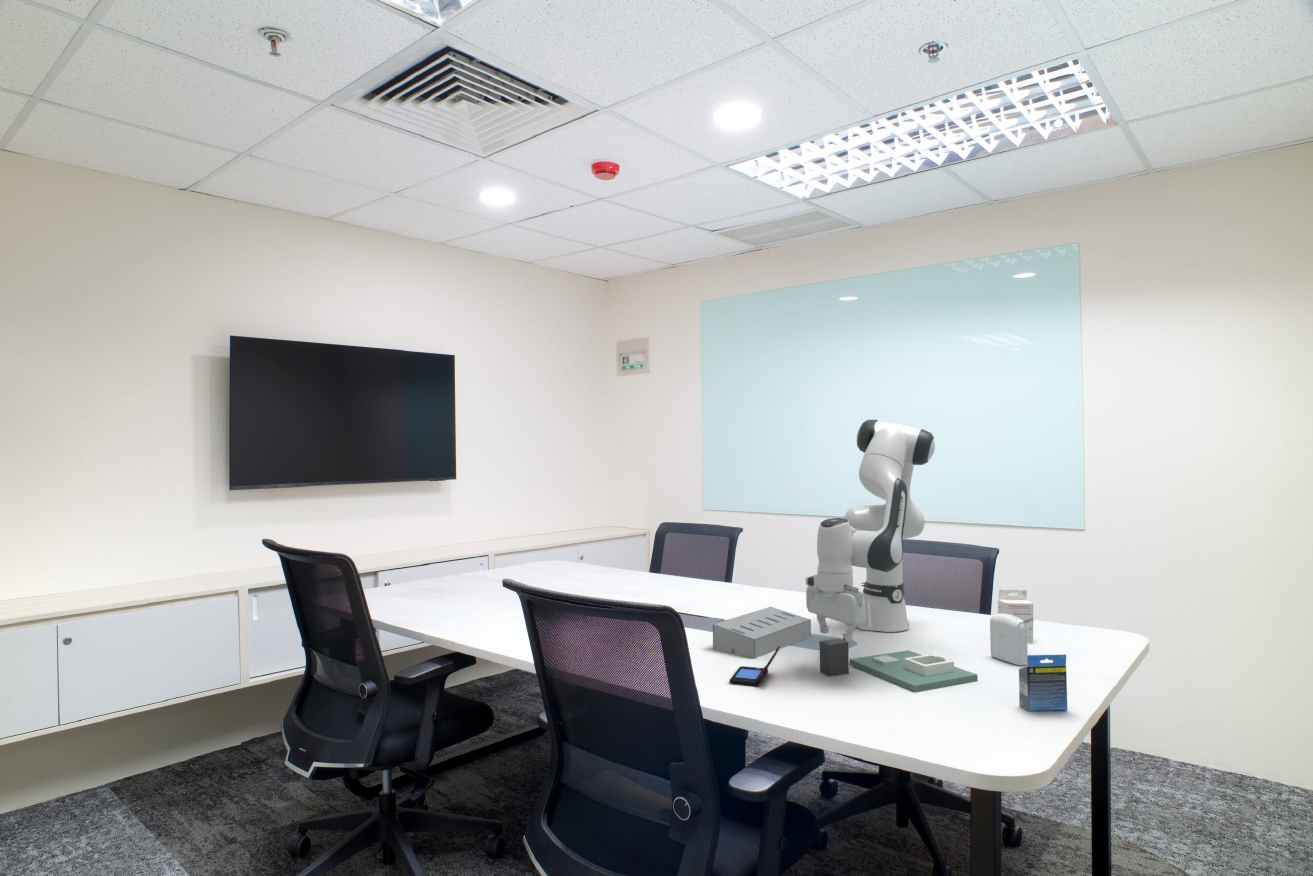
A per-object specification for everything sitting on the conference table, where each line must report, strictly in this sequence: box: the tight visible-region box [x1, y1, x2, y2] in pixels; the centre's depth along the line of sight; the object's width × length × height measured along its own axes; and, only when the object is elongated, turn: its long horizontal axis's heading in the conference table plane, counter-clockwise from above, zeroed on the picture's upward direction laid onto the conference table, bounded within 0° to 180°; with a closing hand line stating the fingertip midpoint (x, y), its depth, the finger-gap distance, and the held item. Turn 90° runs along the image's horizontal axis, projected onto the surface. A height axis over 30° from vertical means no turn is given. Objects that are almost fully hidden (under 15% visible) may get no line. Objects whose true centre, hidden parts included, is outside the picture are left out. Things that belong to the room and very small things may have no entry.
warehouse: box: [712, 606, 812, 659], centre depth 219 cm, size 30×14×8 cm, turn 138°
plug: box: [819, 638, 850, 677], centre depth 190 cm, size 4×7×8 cm, turn 114°
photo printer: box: [989, 613, 1029, 666], centre depth 199 cm, size 10×4×12 cm, turn 20°
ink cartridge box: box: [997, 588, 1034, 644], centre depth 219 cm, size 9×5×15 cm, turn 84°
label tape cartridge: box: [1018, 653, 1068, 712], centre depth 163 cm, size 9×4×12 cm, turn 92°
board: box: [849, 649, 978, 693], centre depth 189 cm, size 24×20×4 cm
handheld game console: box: [729, 646, 780, 688], centre depth 185 cm, size 12×11×7 cm
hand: (835, 636), depth 189 cm, fingers open, 8 cm apart
